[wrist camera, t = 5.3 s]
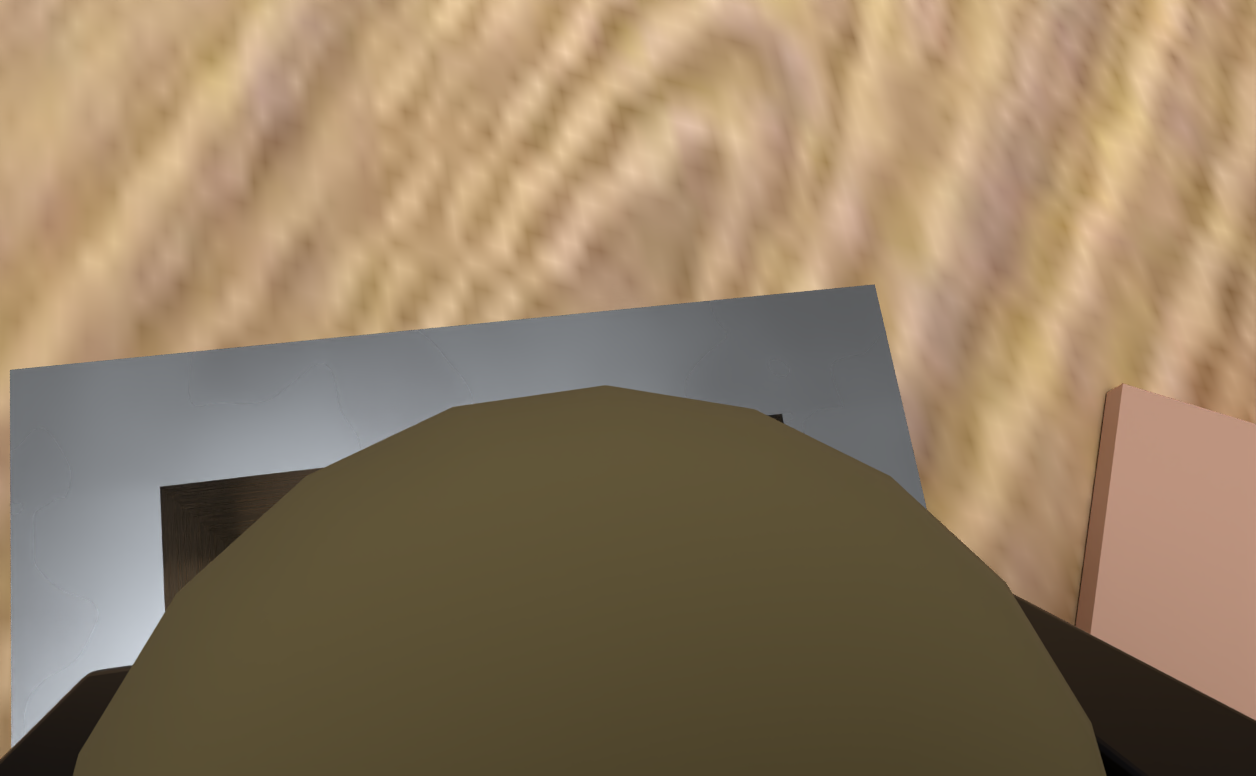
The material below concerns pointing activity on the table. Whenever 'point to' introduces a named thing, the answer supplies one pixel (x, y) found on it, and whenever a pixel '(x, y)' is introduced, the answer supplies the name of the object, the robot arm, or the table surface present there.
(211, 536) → the metal collar
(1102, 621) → the terracotta tile
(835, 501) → the cork
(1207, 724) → the robot arm
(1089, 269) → the table surface
